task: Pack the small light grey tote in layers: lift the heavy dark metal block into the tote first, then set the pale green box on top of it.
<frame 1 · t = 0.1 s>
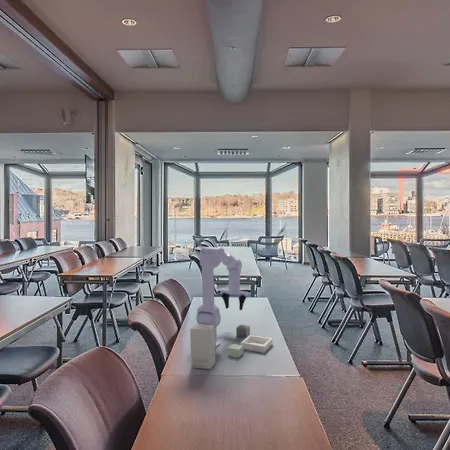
hand: (234, 308, 193), 10 cm above the table, tool pointing down, fingers open, 7 cm apart
tote: (256, 346, 167), on the table
pale green box: (235, 354, 158), on the table
skincare box: (203, 366, 147), on the table
metal block: (243, 335, 182), on the table
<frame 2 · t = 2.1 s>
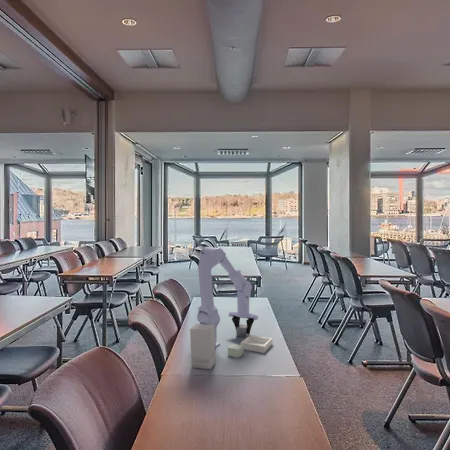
hand: (243, 332, 182), 1 cm above the table, tool pointing down, fingers closed on metal block, 5 cm apart
metal block: (243, 335, 182), on the table, touching gripper
everything else where it was.
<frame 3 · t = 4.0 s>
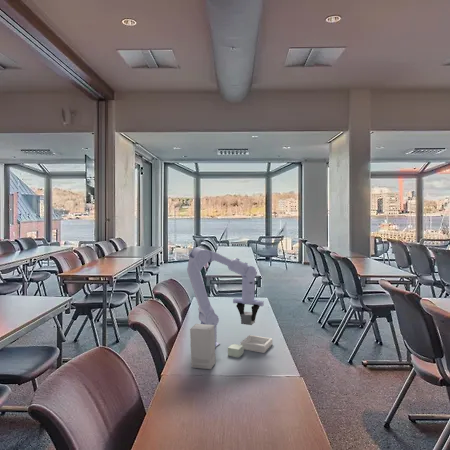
hand: (248, 319, 176), 9 cm above the table, tool pointing down, fingers closed on metal block, 5 cm apart
metal block: (248, 323, 176), point 8 cm above the table, touching gripper
everything else where it was.
when the fingers open (4 cm above the table, at t = 6.2 s): metal block drops 2 cm, resting on tote.
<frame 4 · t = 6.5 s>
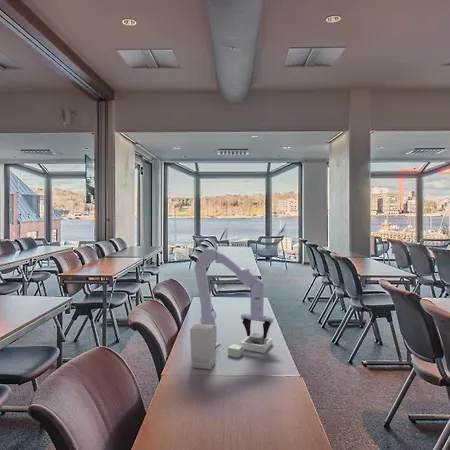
hand: (256, 336, 167), 4 cm above the table, tool pointing down, fingers open, 7 cm apart
metal block: (256, 345, 167), resting on tote
everything else where it was.
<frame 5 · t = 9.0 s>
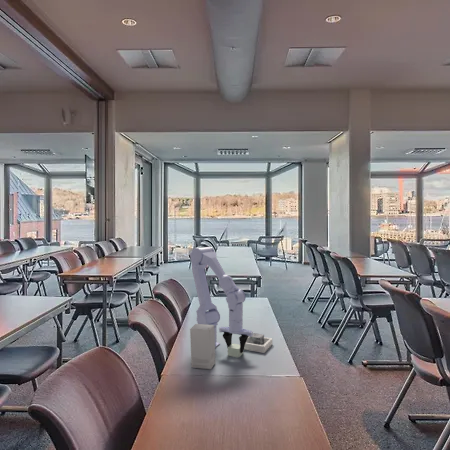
hand: (235, 350, 158), 1 cm above the table, tool pointing down, fingers closed on pale green box, 5 cm apart
pale green box: (235, 354, 158), on the table, touching gripper
everything else where it was.
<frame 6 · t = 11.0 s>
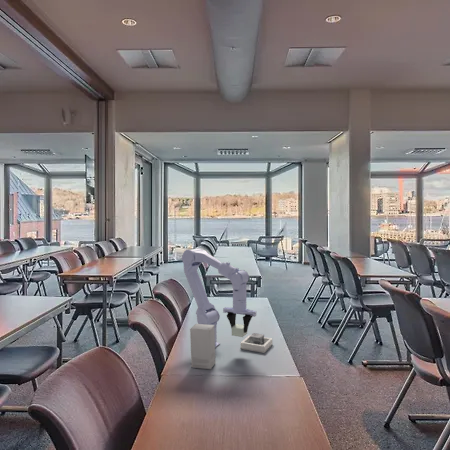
hand: (239, 331, 159), 9 cm above the table, tool pointing down, fingers closed on pale green box, 5 cm apart
pale green box: (239, 334, 160), point 8 cm above the table, touching gripper
everything else where it was.
when the fingers open (8 cm above the table, at t = 12.6 s): pale green box drops 1 cm, resting on metal block.
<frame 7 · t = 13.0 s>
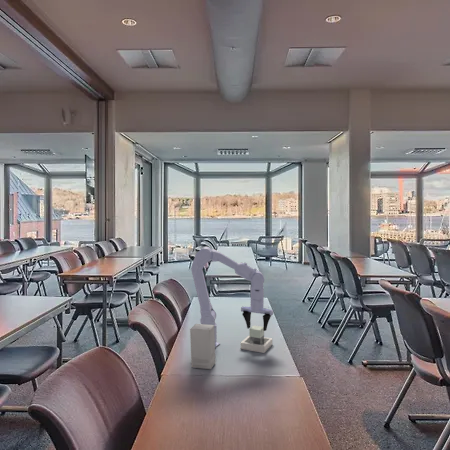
hand: (256, 329, 167), 8 cm above the table, tool pointing down, fingers open, 7 cm apart
pale green box: (256, 335, 167), point 5 cm above the table, touching metal block
metal block: (256, 345, 167), resting on tote, touching pale green box
everything else where it was.
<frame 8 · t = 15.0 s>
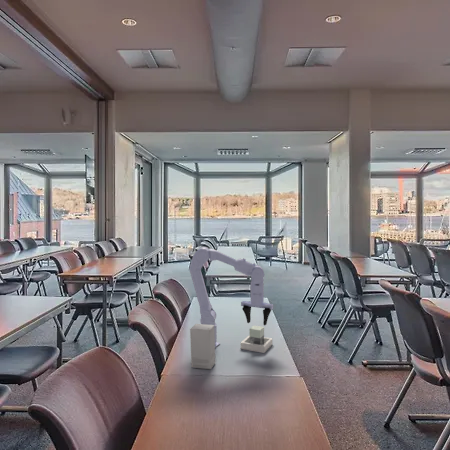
hand: (256, 323, 167), 10 cm above the table, tool pointing down, fingers open, 7 cm apart
nothing on the table moved.
at the end: metal block 0.1 cm off-centre on the tote, point 0.5 cm above the tote's base; pale green box 0.2 cm off-centre on the metal block, point 4.5 cm above the metal block's base; pale green box tilted 0° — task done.
